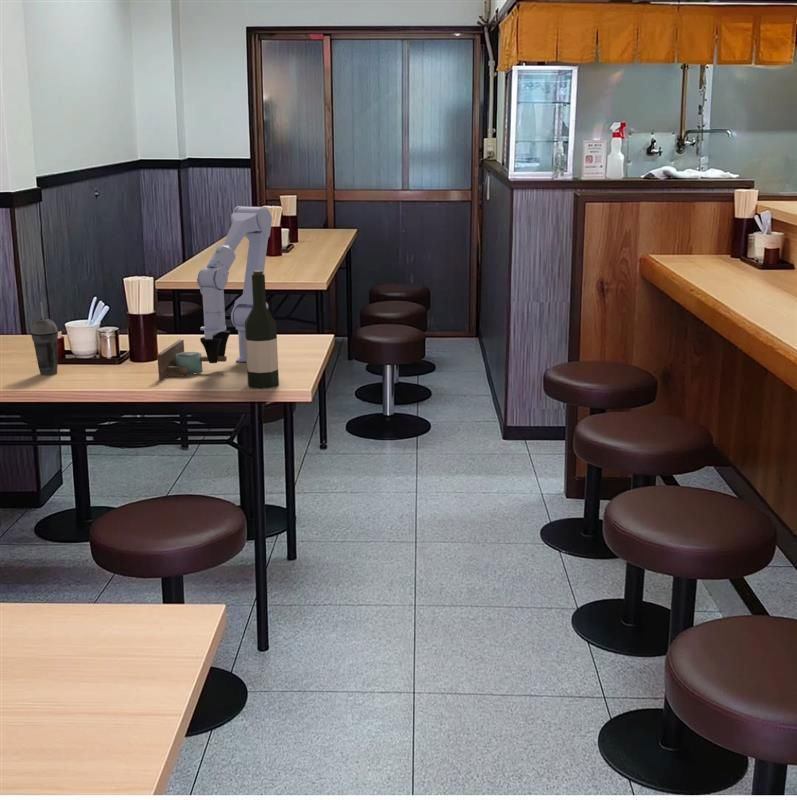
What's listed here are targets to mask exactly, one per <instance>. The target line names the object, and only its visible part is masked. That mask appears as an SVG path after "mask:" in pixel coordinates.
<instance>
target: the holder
mask: <svg viewBox="0 0 797 800" xmlns="http://www.w3.org/2000/svg"><path fill="white" fill-rule="evenodd" d="M184 342H185V341H184V339H178V340H177V341H175V342H173V343H172V344H171V345H169V346H168V347H166V348H164V349H163V350H161V351H160V352H158V353H157V354H156V355H157V369H158V380H159V379H164V380H165V379H167V378H168V377H188V376H190V375H189V372H188V366H176V354H178V353H182V352H185V343H184ZM168 375H169V376H168ZM182 375H183V376H182ZM187 375H188V376H187ZM167 376H168V377H167ZM166 377H167V378H166Z"/></svg>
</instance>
